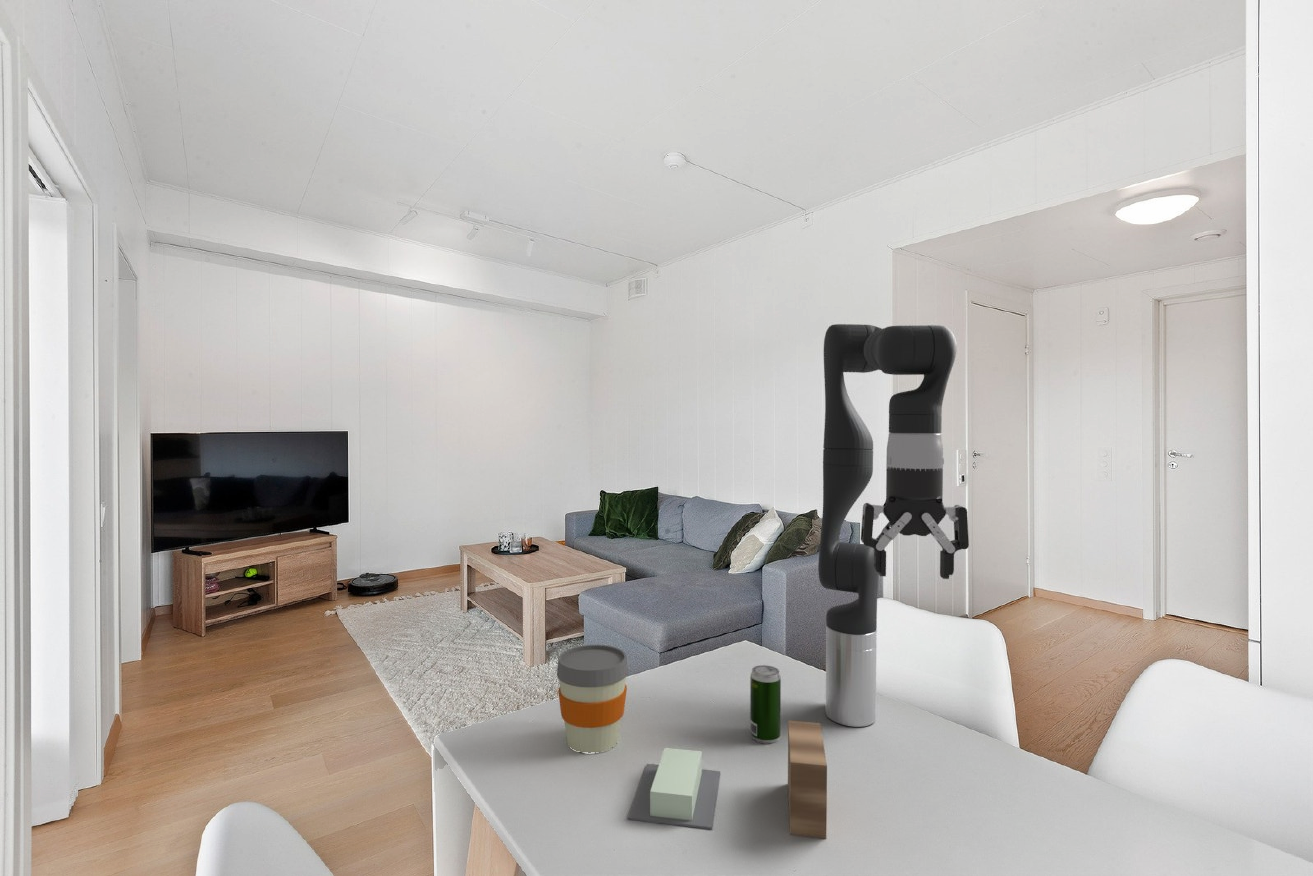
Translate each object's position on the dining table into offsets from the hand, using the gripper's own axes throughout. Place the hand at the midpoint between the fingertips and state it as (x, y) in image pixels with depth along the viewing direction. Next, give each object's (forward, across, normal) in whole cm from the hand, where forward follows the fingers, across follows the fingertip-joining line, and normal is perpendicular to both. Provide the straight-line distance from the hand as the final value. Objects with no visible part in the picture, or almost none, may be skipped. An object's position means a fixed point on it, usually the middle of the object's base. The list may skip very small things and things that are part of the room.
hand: (912, 576), depth 90 cm
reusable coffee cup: (+34, +51, -10) cm, 62 cm away
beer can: (+34, +21, -17) cm, 44 cm away
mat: (+34, +34, +3) cm, 48 cm away
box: (+34, +15, +3) cm, 37 cm away
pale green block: (+34, +34, +3) cm, 48 cm away
